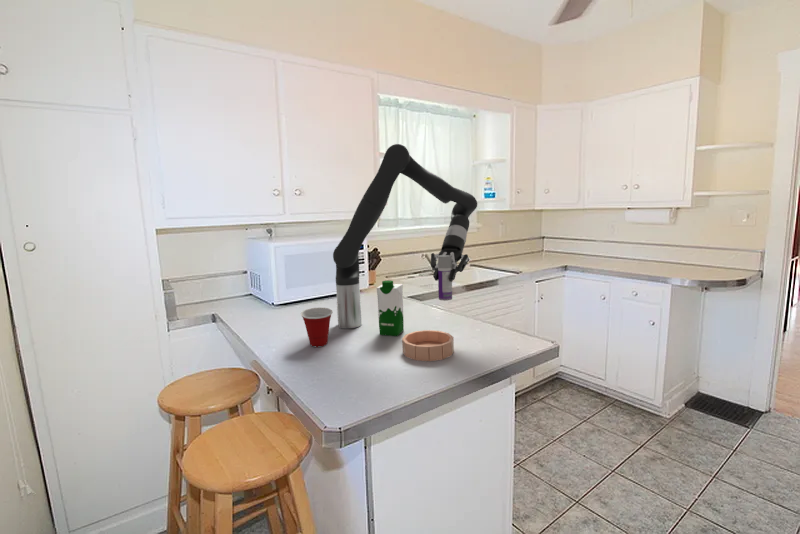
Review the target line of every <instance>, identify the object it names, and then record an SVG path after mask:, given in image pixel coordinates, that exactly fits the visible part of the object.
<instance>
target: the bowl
mask: <svg viewBox="0 0 800 534" xmlns="http://www.w3.org/2000/svg"><path fill="white" fill-rule="evenodd" d="M454 339H455V338H454V336H453V335H451V334H450V333H449V332H446V331H442V330H433V329H432V330H431V329H429V330H428V329H424V330H417V331H412V332H409V333H407V334H405V335H404V336H403V337H402V338H401V345H402V353H403V354H404V356H405V357H406V358H408V359H411V360H414V361H421V362H422V361H423V362H434V361H442V360H445V359H447V358H449V357H451V356H452V355H453V353H454V352H455V351H454V350H455V347H454V346H455V345H454V343H455V342H454Z"/></svg>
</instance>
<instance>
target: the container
mask: <svg viewBox="0 0 800 534" xmlns="http://www.w3.org/2000/svg"><path fill="white" fill-rule="evenodd" d="M437 263H438V281H437V284H438V285H437V286H438V288H437V289H438V300H440V301H444V302H445V301H451V300H453V281H452V282H450V280H449V275H450V272H451V269H452V260H451V255H439V256H438V260H437Z"/></svg>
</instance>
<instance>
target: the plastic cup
mask: <svg viewBox="0 0 800 534" xmlns="http://www.w3.org/2000/svg"><path fill="white" fill-rule="evenodd" d="M332 314H333V310H332V309H330V308H328V307H312V308H307V309H305V310H302V311H300V316H301V317H302V320H303V322H304V326H305V329H306V333H307V337H308V341H309V344H310V346H311V345H312V346H316V347H315V348H319V347H318V346H322V347H324V345H325V346H326V345H327V344H328V341H329V340H328V339H329V332H330V321H331V318H332ZM312 346H311V347H312Z"/></svg>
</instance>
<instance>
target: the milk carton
mask: <svg viewBox="0 0 800 534" xmlns="http://www.w3.org/2000/svg"><path fill="white" fill-rule="evenodd" d="M403 287H404V286H403V283H401V284H400V283H394V280H390V279H388V280H382V281H381V284H380V285H379V286H377V287H376V295H377V296H376V297H377V310H378V311H377V313H378V314H377V315H378V316H377V317H378V329H379V335H380V336H390V337H398V336H400V335H401V333H403V331H404V329H405V328H404V322H405V321H404V298H403Z"/></svg>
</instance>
